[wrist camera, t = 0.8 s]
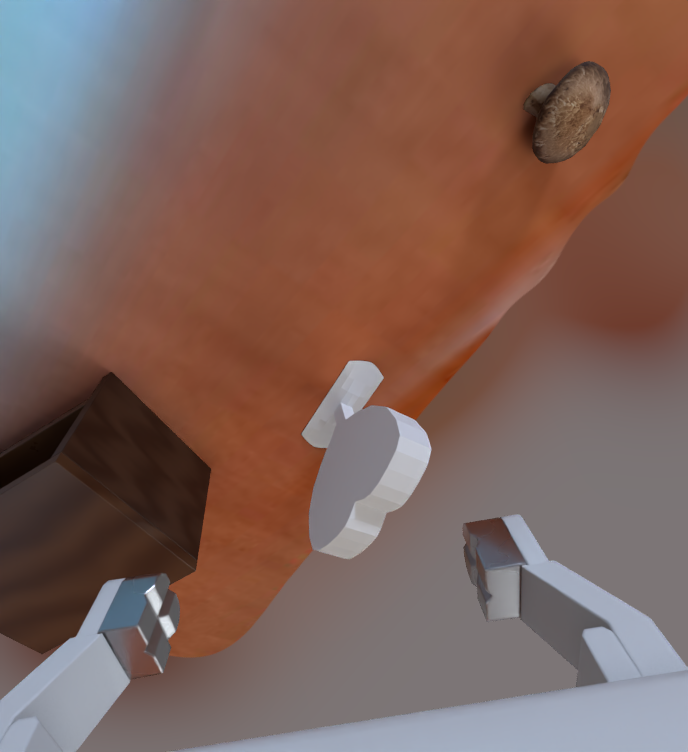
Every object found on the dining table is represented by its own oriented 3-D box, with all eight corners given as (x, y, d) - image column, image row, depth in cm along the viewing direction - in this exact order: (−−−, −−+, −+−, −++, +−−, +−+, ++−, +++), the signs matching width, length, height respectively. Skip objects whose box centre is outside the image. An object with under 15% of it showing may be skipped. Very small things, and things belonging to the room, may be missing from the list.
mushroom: (510, 82, 37) (578, 102, 34) (567, 33, 39) (637, 48, 36) (501, 165, 44) (558, 187, 41) (550, 121, 46) (608, 139, 43)
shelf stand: (-25, 456, 50) (-126, 570, 37) (111, 371, 47) (55, 461, 35) (91, 538, 58) (42, 654, 45) (211, 469, 56) (195, 571, 43)
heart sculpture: (327, 458, 58) (351, 577, 42) (293, 445, 56) (305, 565, 41) (392, 364, 53) (447, 462, 37) (358, 347, 51) (400, 442, 35)
